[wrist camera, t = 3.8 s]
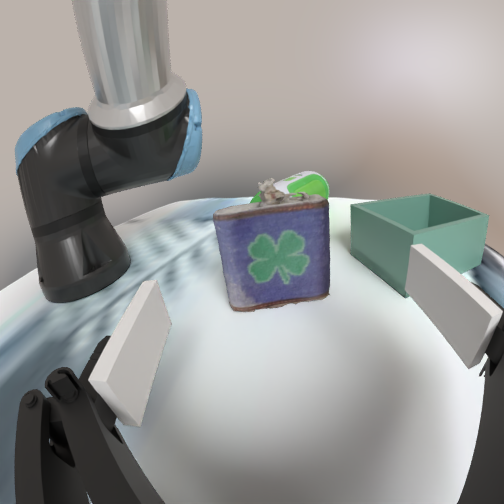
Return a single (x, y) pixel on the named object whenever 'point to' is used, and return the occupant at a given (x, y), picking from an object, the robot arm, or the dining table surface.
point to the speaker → (301, 185)
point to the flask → (275, 249)
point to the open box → (415, 234)
